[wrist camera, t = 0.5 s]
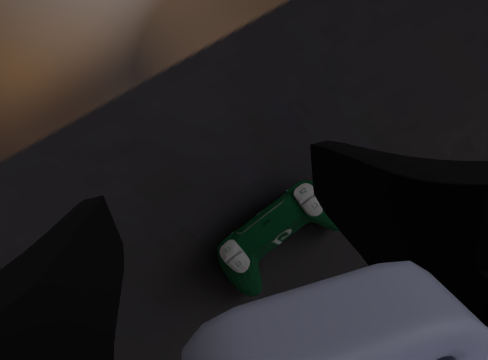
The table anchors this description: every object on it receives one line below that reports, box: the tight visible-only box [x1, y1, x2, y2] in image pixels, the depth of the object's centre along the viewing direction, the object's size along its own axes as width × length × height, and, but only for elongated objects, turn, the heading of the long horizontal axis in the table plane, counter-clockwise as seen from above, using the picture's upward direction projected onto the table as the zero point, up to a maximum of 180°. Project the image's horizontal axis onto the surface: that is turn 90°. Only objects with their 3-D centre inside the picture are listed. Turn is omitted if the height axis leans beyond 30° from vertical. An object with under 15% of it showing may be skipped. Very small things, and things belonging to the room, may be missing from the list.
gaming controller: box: [217, 180, 340, 297], centre depth 23 cm, size 9×4×6 cm
